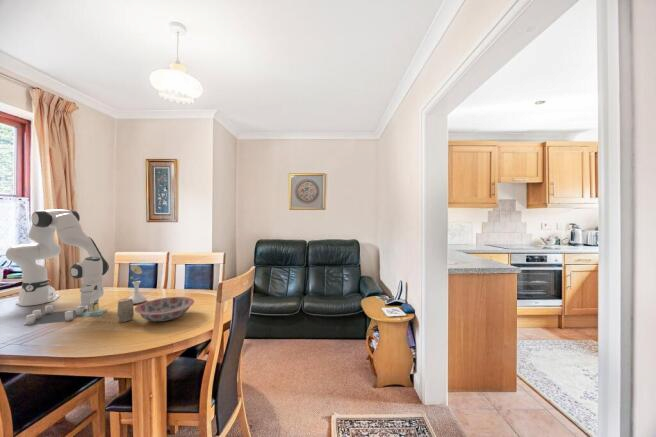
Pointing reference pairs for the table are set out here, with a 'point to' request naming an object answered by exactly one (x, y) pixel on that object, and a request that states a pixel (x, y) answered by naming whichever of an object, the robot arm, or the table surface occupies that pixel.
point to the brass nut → (94, 307)
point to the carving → (125, 310)
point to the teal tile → (93, 313)
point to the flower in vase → (136, 287)
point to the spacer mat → (53, 315)
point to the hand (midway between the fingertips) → (93, 308)
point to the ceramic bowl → (164, 308)
